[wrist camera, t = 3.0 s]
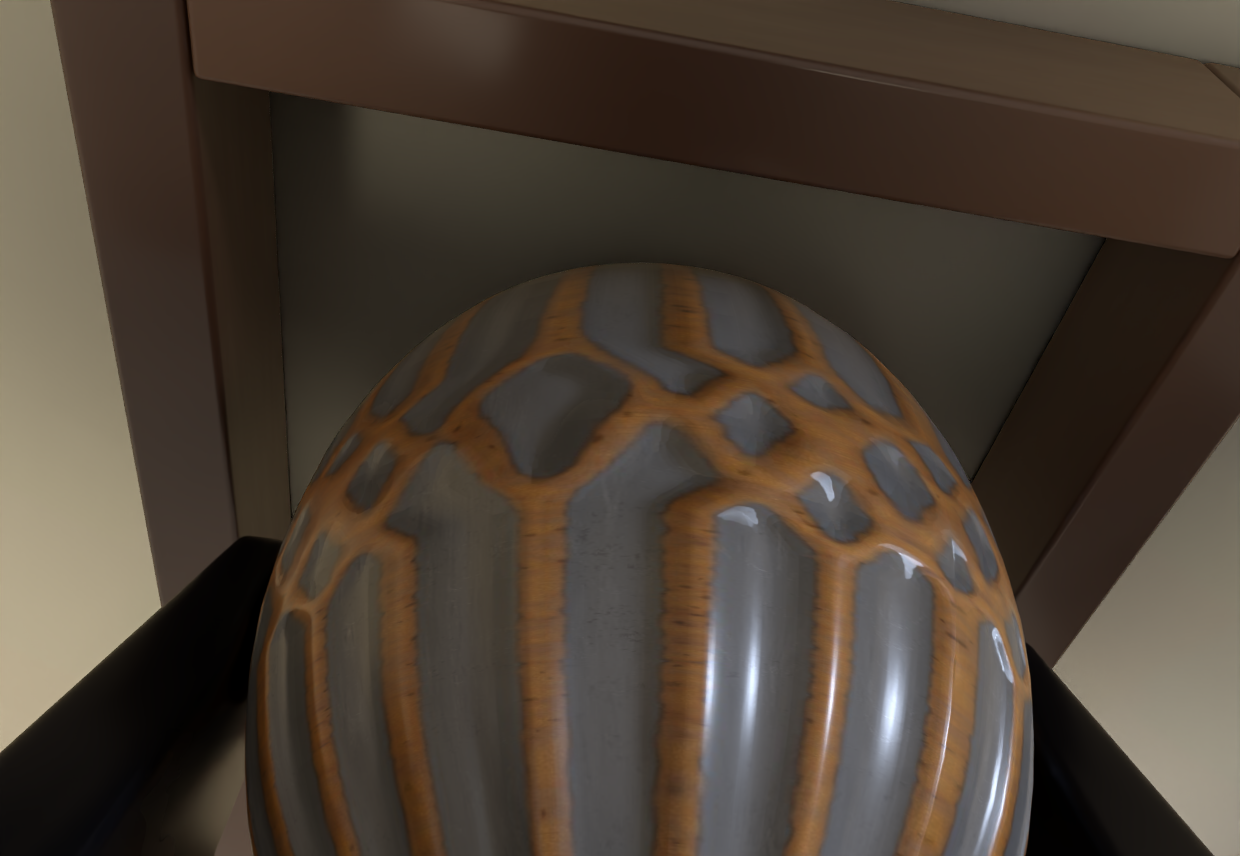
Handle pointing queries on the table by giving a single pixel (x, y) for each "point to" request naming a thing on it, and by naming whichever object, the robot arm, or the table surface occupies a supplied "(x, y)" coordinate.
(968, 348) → the table surface
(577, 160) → the table surface
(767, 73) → the cup stand
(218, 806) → the robot arm
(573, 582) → the vase
